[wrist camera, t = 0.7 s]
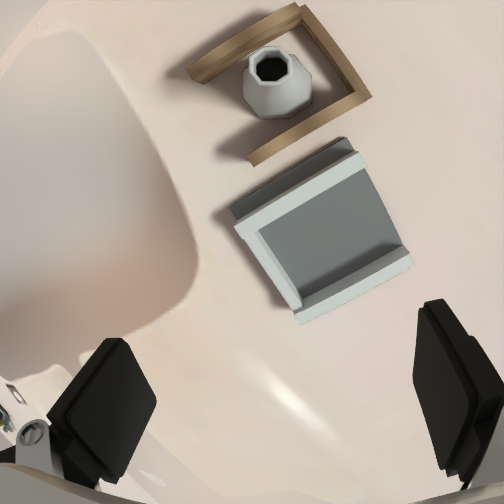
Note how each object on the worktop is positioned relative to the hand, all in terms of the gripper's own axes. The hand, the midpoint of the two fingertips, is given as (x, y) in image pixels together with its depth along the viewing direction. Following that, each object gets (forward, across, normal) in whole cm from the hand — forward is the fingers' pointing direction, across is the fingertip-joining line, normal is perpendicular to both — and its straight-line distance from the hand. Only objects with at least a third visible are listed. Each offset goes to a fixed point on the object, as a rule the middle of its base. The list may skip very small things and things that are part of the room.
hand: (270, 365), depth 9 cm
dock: (+25, -3, +5) cm, 26 cm away
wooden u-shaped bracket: (+25, -1, -11) cm, 28 cm away
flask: (+26, -1, -11) cm, 28 cm away
